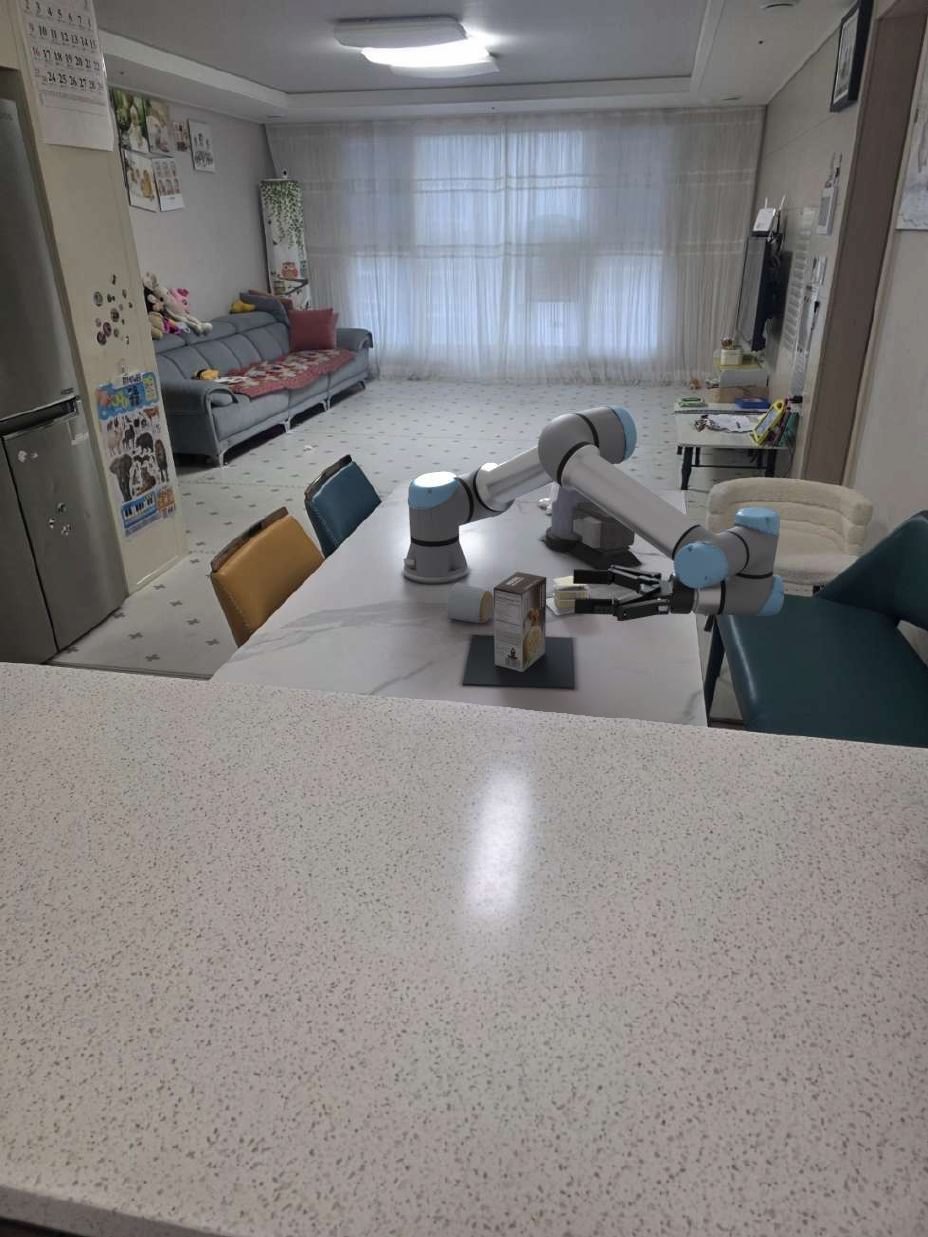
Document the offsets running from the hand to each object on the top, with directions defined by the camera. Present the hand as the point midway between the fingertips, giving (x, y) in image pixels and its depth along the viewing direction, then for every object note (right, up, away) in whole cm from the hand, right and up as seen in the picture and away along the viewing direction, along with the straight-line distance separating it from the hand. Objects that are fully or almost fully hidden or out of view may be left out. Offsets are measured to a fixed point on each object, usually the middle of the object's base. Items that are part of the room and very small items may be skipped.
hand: (573, 590), depth 151 cm
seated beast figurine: (+7, +27, +92) cm, 96 cm away
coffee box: (-10, -13, +6) cm, 17 cm away
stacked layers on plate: (+3, -2, +29) cm, 30 cm away
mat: (-9, -13, +6) cm, 17 cm away
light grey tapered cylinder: (-19, -5, +24) cm, 31 cm away
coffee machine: (+12, +13, +60) cm, 63 cm away
